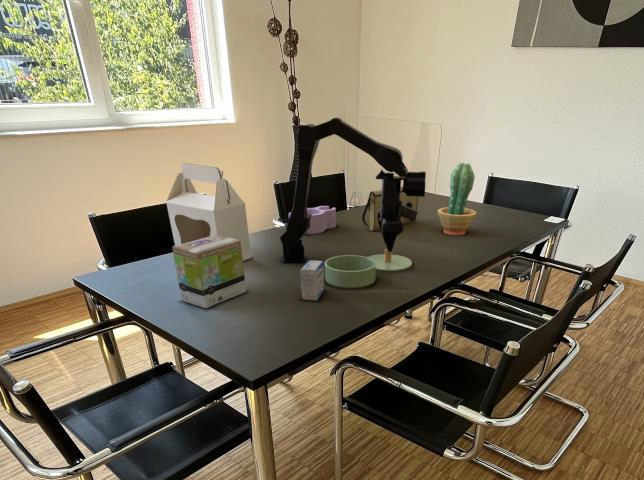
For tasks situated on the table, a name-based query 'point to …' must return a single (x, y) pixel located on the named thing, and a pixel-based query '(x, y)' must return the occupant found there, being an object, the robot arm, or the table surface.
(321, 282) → the medicine box
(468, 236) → the table surface
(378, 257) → the pot lid
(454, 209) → the potted cactus
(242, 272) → the tea box
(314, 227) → the purple piece
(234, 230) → the gable box
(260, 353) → the table surface
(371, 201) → the clutch purse
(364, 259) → the pot
